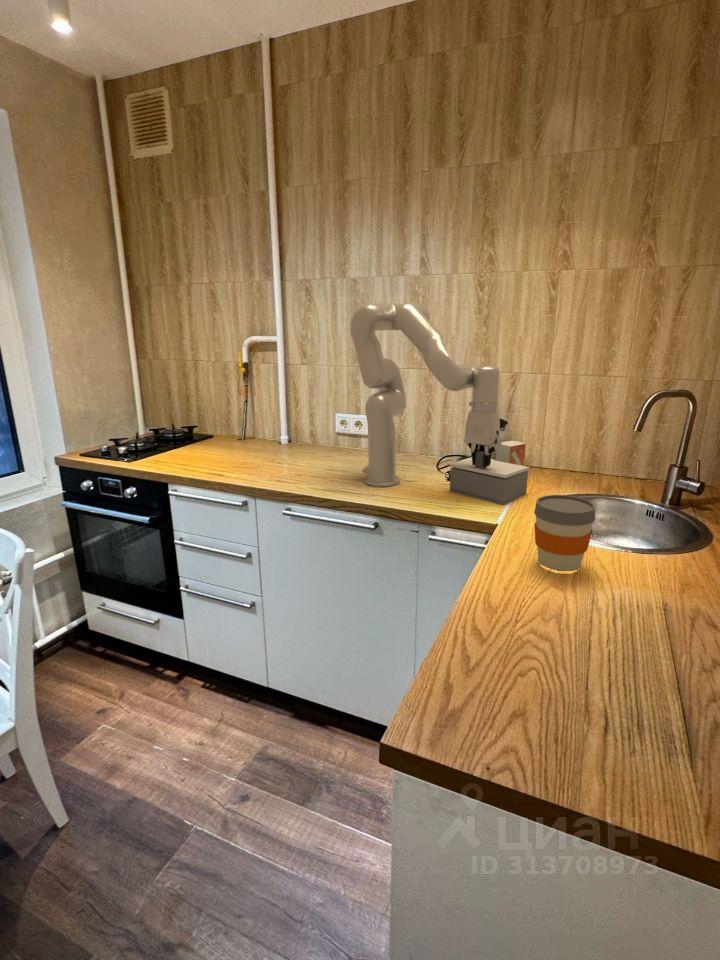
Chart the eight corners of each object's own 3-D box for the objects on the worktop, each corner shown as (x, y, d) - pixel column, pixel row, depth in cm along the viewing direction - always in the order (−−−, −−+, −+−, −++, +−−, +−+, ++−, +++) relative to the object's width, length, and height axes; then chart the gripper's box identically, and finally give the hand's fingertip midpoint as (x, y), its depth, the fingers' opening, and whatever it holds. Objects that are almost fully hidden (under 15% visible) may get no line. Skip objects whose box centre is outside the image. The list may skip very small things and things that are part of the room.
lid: (449, 466, 167) (450, 448, 165) (473, 459, 177) (474, 442, 175) (505, 478, 153) (507, 458, 152) (528, 470, 163) (530, 451, 161)
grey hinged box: (449, 491, 170) (450, 468, 167) (473, 482, 179) (474, 460, 177) (503, 505, 156) (505, 480, 154) (526, 494, 166) (528, 470, 163)
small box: (507, 482, 178) (510, 446, 174) (494, 478, 183) (496, 443, 179) (523, 478, 182) (526, 443, 178) (509, 474, 187) (511, 440, 183)
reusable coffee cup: (583, 583, 109) (591, 517, 104) (523, 569, 115) (528, 507, 111) (592, 560, 119) (600, 499, 114) (537, 549, 125) (542, 491, 121)
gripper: (454, 405, 159) (452, 463, 165) (501, 411, 148) (497, 472, 153) (468, 403, 164) (465, 458, 170) (515, 408, 153) (510, 467, 158)
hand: (481, 464), depth 161 cm, fingers closed on lid, 3 cm apart
